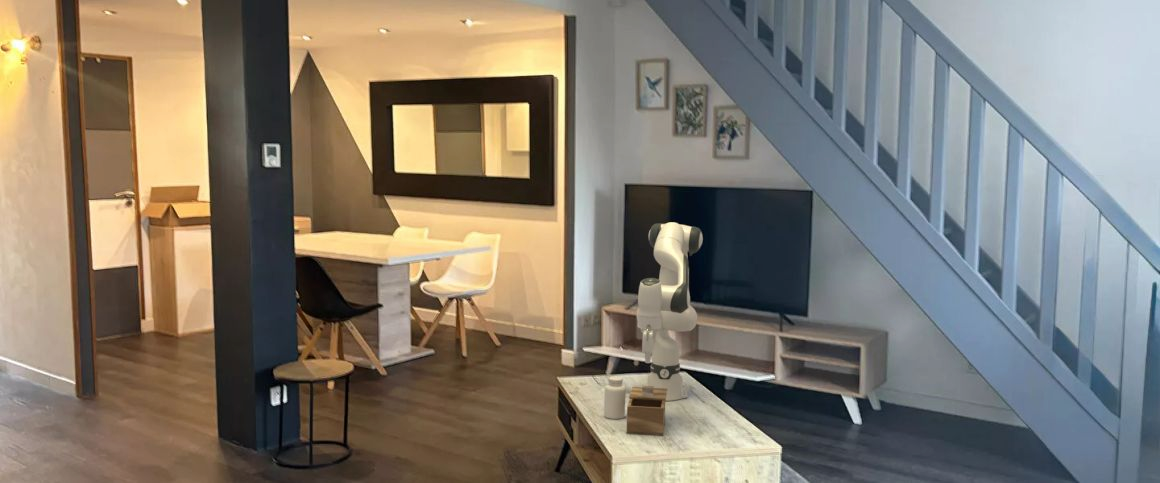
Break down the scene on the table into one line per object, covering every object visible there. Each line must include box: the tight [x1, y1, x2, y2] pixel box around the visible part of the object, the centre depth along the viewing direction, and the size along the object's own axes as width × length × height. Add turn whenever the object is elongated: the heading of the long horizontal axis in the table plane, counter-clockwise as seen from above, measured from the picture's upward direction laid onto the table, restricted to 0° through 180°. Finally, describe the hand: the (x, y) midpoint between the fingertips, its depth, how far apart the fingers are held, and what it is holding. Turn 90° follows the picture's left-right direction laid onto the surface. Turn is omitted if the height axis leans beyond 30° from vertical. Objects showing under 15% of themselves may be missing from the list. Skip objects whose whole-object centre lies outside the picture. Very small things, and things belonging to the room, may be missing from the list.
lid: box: [628, 385, 667, 402], centre depth 343 cm, size 14×13×4 cm
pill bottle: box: [603, 376, 626, 420], centre depth 348 cm, size 8×8×15 cm
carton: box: [626, 399, 666, 437], centre depth 334 cm, size 14×13×10 cm
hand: (648, 359), depth 336 cm, fingers open, 8 cm apart
